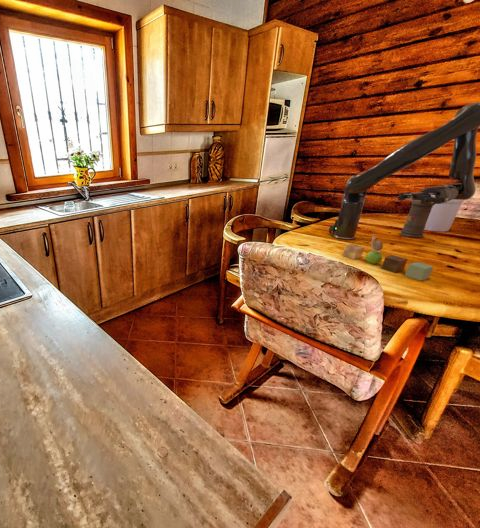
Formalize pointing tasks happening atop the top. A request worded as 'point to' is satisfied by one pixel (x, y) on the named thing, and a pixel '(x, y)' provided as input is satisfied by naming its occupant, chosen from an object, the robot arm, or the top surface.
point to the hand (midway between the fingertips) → (411, 199)
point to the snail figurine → (375, 252)
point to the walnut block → (394, 263)
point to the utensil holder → (442, 216)
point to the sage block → (419, 271)
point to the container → (416, 220)
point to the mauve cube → (353, 251)
